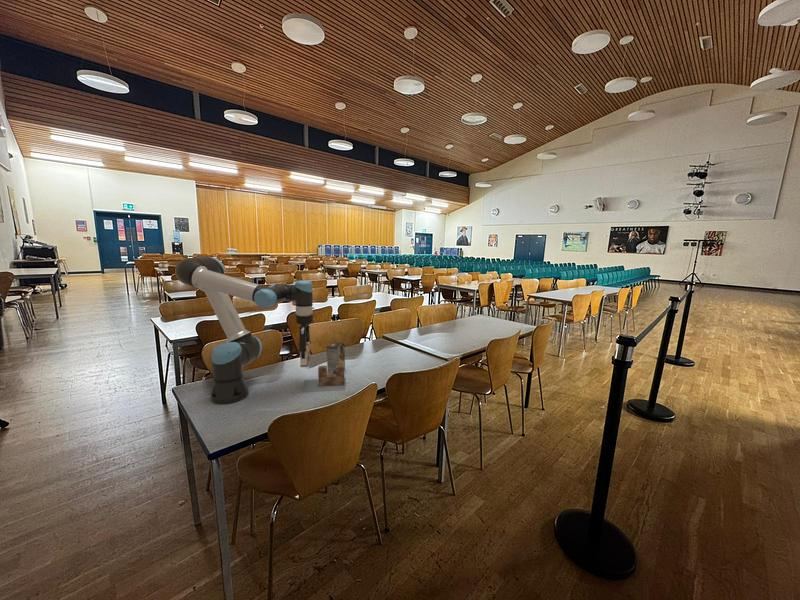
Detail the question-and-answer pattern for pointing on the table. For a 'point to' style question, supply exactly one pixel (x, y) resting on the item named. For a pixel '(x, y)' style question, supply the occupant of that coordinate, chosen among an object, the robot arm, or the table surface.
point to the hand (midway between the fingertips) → (305, 360)
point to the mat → (314, 386)
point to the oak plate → (307, 353)
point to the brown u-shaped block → (331, 376)
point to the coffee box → (335, 356)
